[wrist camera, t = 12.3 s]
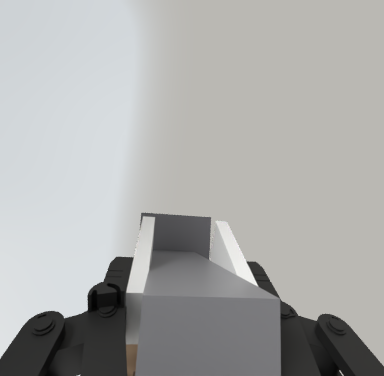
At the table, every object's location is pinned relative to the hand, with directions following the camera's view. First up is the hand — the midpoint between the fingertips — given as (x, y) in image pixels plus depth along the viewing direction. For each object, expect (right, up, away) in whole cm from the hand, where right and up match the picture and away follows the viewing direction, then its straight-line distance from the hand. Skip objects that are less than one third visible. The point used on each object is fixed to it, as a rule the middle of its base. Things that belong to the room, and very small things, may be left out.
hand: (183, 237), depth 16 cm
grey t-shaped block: (-1, -4, +3) cm, 5 cm away
